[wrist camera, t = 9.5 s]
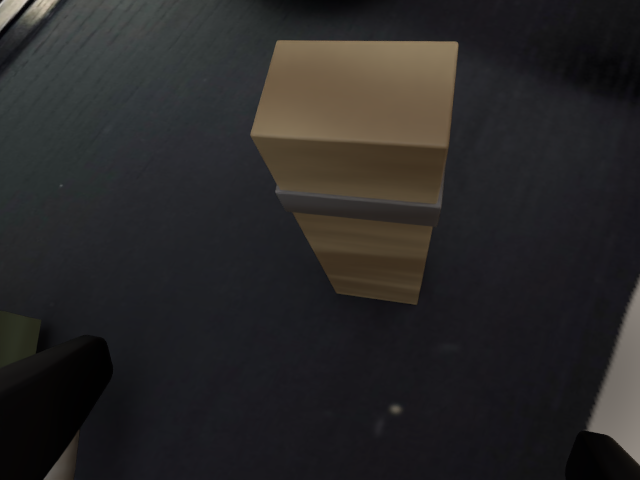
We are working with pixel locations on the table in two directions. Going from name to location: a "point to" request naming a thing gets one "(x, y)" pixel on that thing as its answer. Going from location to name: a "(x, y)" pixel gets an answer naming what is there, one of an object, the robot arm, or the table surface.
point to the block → (361, 154)
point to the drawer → (18, 343)
